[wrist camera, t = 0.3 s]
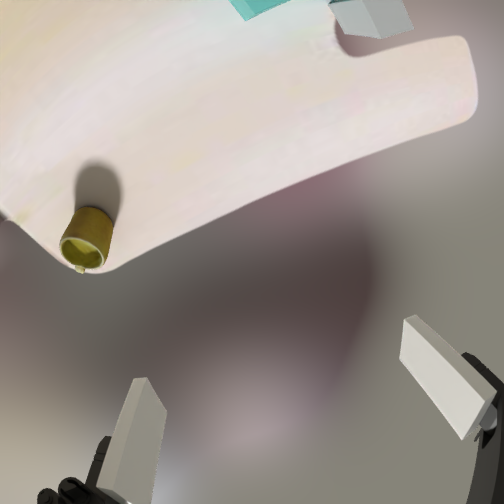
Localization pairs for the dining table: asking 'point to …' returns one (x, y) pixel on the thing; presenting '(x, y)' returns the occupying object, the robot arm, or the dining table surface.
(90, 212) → the mug
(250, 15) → the teal block
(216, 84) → the dining table surface
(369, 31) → the grey block
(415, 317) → the robot arm
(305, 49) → the dining table surface
